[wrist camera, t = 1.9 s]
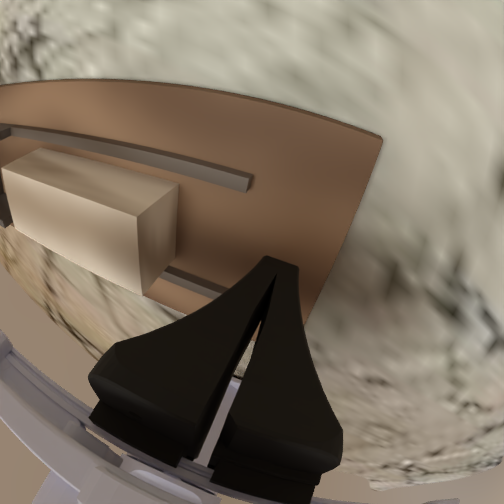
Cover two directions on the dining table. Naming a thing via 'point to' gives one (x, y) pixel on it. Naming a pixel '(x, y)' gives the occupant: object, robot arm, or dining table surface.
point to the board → (208, 173)
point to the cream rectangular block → (95, 215)
